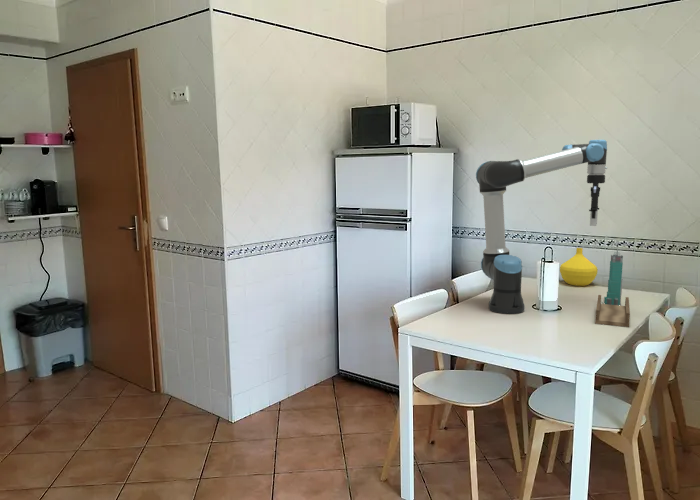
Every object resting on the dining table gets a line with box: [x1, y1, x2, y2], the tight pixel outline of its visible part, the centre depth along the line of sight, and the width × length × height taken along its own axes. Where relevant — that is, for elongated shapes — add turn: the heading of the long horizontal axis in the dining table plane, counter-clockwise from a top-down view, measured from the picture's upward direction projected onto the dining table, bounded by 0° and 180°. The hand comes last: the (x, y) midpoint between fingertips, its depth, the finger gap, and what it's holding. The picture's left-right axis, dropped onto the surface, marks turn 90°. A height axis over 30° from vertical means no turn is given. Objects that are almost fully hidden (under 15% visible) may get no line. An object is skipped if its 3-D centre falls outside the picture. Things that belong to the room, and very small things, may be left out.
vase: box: [559, 247, 599, 287], centre depth 287 cm, size 18×18×19 cm
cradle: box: [594, 294, 631, 328], centre depth 228 cm, size 12×28×6 cm, turn 154°
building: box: [603, 244, 624, 306], centre depth 244 cm, size 6×6×30 cm
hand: (593, 224), depth 252 cm, fingers open, 7 cm apart
